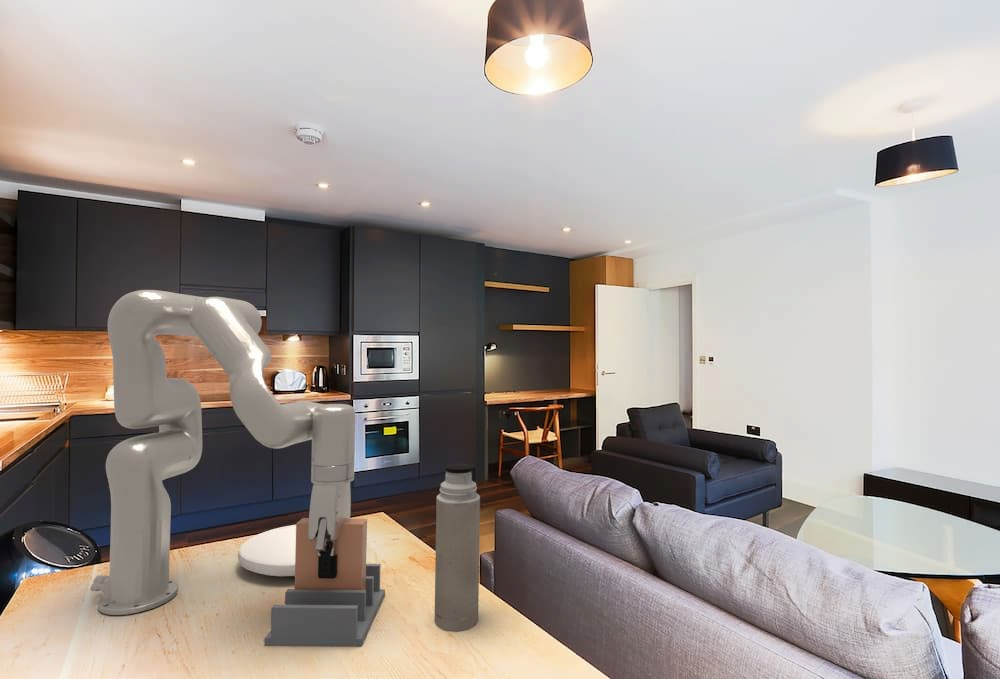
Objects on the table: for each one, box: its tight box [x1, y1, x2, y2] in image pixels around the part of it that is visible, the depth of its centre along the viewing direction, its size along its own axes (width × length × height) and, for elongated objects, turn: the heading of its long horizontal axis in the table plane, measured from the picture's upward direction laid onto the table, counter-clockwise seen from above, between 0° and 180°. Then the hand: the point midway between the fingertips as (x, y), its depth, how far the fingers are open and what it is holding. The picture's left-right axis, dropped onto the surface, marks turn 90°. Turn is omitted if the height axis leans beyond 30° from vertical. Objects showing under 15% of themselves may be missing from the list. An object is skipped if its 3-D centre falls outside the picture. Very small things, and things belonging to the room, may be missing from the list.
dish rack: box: [263, 563, 386, 647], centre depth 92 cm, size 16×18×6 cm
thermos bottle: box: [434, 463, 481, 632], centre depth 93 cm, size 8×8×28 cm
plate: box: [237, 524, 296, 577], centre depth 118 cm, size 28×6×27 cm
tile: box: [294, 517, 368, 590], centre depth 93 cm, size 12×3×14 cm, turn 90°
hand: (330, 572), depth 92 cm, fingers closed on tile, 3 cm apart
